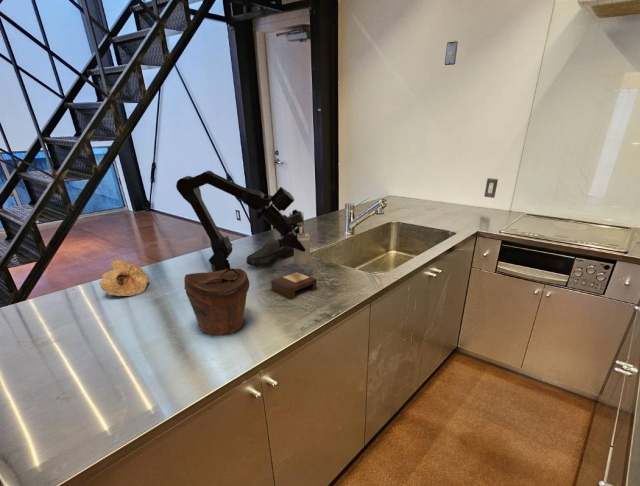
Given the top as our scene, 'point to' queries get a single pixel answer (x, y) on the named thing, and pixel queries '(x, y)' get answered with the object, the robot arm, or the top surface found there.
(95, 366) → the top surface
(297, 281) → the wooden display riser
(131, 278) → the tan lumpy piece
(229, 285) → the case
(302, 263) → the beverage can
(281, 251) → the loafer
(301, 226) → the syrup box
